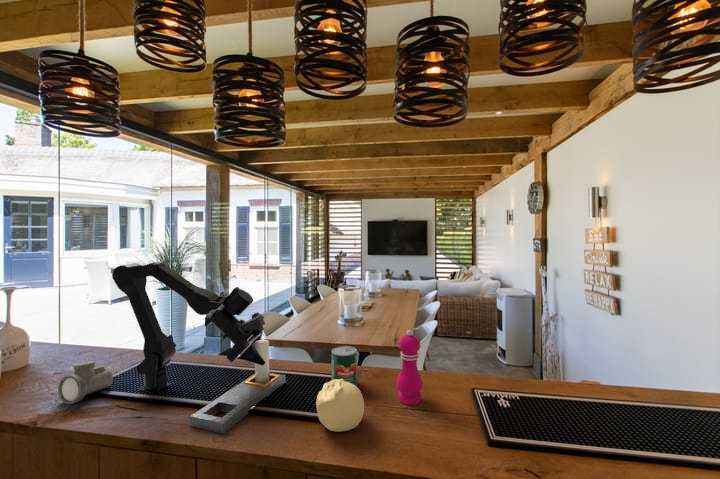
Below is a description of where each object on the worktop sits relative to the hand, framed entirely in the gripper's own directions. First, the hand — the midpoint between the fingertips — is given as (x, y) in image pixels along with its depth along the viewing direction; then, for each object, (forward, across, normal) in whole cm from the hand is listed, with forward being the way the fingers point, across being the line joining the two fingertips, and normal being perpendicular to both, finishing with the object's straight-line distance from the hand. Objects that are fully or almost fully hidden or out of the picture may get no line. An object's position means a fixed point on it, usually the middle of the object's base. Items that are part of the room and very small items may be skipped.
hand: (266, 361), depth 106 cm
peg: (+4, 0, +6) cm, 7 cm away
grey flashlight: (-30, -4, +43) cm, 53 cm away
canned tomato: (+23, +2, -11) cm, 25 cm away
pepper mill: (+36, -7, -24) cm, 44 cm away
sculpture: (+23, -20, -11) cm, 32 cm away
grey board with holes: (+3, -9, +9) cm, 13 cm away
